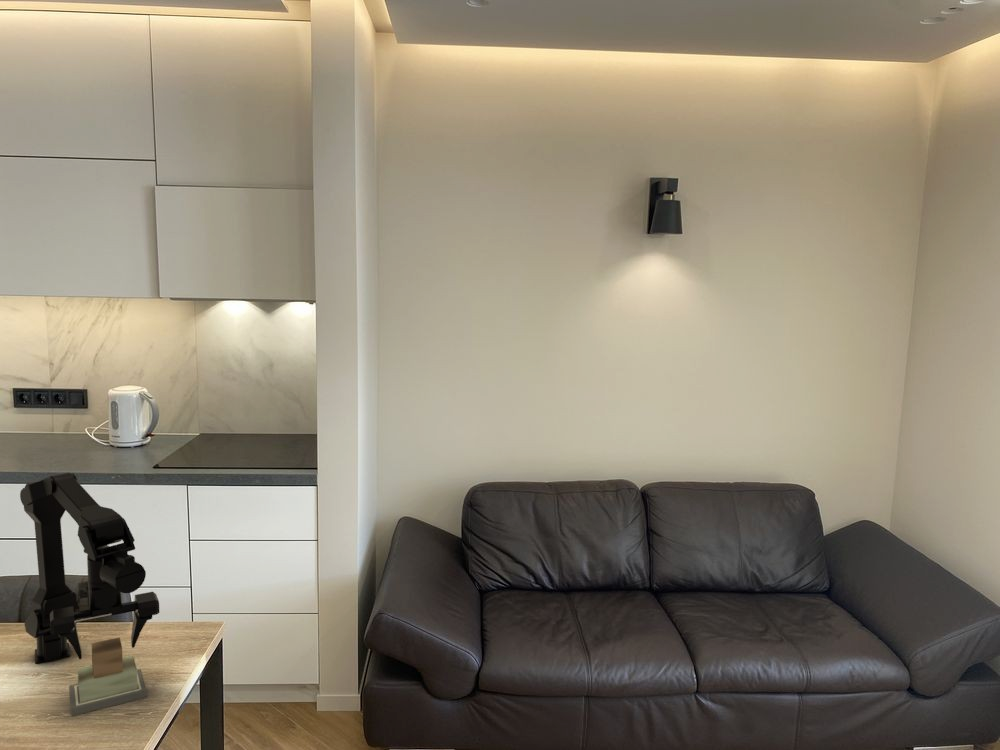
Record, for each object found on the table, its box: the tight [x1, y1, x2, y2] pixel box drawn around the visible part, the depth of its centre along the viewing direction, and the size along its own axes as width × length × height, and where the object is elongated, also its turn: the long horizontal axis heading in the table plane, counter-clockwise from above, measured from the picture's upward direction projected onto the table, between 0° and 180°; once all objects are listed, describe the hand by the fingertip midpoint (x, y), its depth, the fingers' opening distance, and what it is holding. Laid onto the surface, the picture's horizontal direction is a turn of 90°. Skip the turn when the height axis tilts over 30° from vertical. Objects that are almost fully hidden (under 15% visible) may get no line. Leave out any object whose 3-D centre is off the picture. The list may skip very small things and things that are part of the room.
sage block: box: [77, 655, 138, 703], centre depth 143 cm, size 6×10×4 cm, turn 123°
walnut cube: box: [91, 637, 123, 679], centre depth 142 cm, size 5×5×5 cm
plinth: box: [68, 668, 148, 717], centre depth 143 cm, size 9×13×2 cm
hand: (107, 652), depth 142 cm, fingers open, 9 cm apart
